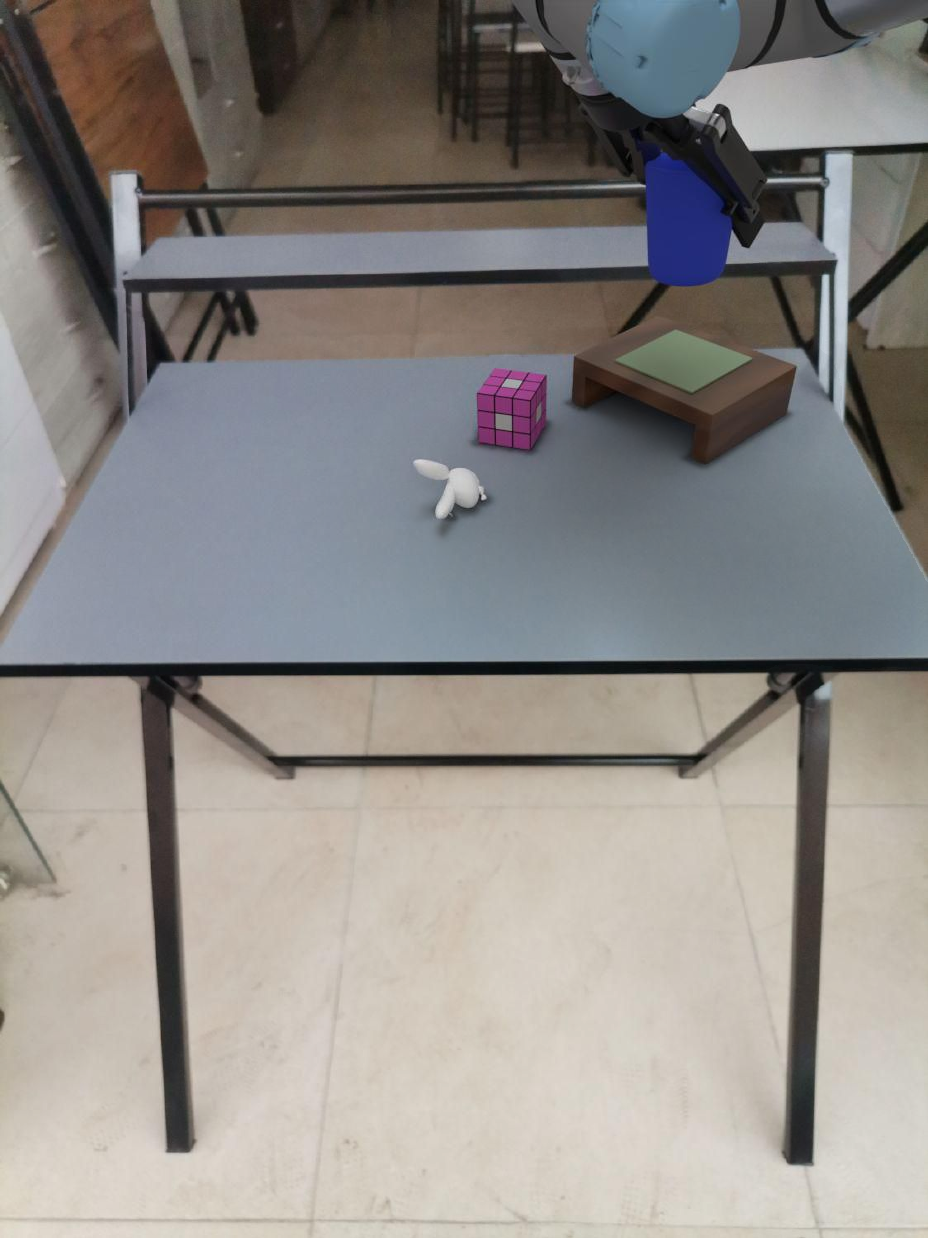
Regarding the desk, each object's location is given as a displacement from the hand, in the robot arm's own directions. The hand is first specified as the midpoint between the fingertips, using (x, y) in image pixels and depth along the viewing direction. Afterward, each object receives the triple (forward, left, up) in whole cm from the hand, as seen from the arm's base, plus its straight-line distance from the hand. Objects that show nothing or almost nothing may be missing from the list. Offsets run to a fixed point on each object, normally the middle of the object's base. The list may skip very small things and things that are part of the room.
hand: (719, 224), depth 86 cm
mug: (0, +4, -4) cm, 5 cm away
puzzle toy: (+11, +17, -20) cm, 28 cm away
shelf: (+2, +1, -19) cm, 20 cm away
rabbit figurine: (+5, +31, -20) cm, 37 cm away
